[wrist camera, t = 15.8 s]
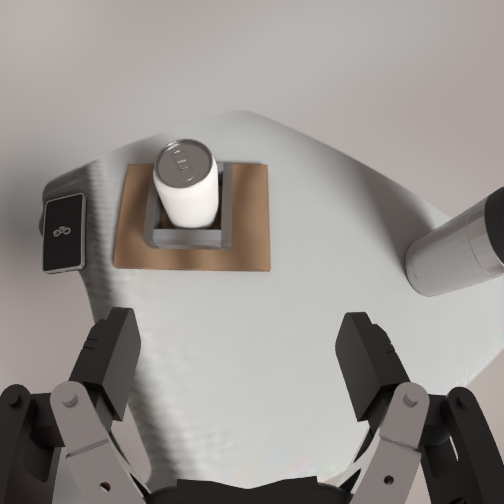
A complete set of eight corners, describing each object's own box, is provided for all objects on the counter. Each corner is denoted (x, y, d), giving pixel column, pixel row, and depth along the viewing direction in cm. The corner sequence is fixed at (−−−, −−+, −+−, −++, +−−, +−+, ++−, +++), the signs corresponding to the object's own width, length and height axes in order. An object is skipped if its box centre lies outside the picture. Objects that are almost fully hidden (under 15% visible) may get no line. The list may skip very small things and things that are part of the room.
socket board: (266, 169, 42) (271, 149, 37) (269, 271, 38) (275, 261, 33) (130, 168, 40) (121, 149, 36) (116, 268, 36) (102, 258, 31)
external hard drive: (89, 198, 39) (84, 192, 37) (88, 270, 36) (82, 267, 34) (51, 206, 38) (46, 201, 36) (48, 276, 35) (41, 273, 33)
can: (178, 243, 37) (160, 202, 25) (163, 200, 38) (142, 149, 27) (226, 225, 38) (228, 177, 26) (208, 183, 39) (204, 127, 28)
